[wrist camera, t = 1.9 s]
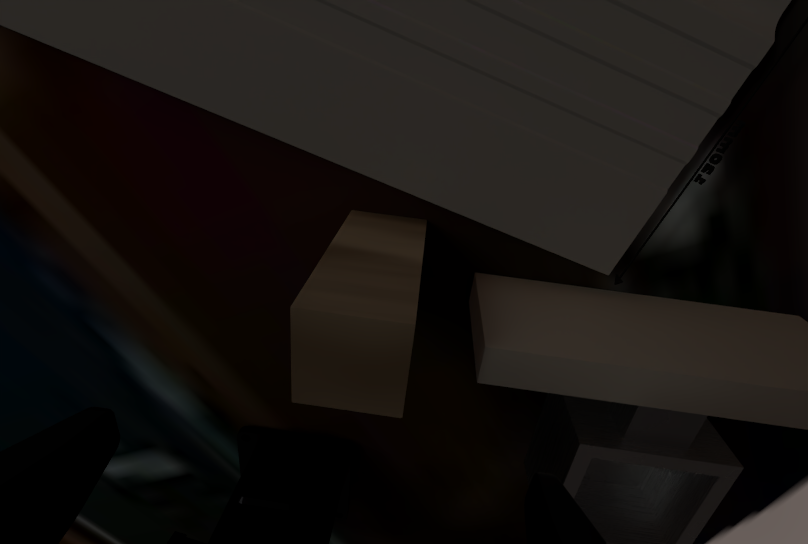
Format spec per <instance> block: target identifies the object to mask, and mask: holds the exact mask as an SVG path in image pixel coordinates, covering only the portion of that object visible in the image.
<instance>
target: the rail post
mask: <svg viewBox="0 0 808 544" xmlns="http://www.w3.org/2000/svg"><path fill="white" fill-rule="evenodd" d="M426 225H427V220H423V219H416V218H408V217H400V216H393V215H385V214H377V213H370V212H362V211H354V210H352V211H351V212H350V214H349V216H348V217H347V219H346V220H345V222H344V223H343V225H342V227H341V228H340V230H339V231H338V233H337V235H336V236H335V238H334V239H333V241H332V242H331V244H330V246H329V247H328V249H327V250H326V252H325V253H324V255H323V257H322V258H321V260H320V261H319V263H318V265H317V266H316V268H315V269H314V271H313V272H312V274H311V276H310V277H309V279H308V280H307V282H306V284H305V285H304V287H303V288H302V290H301V291H300V293H299V295H298V296H297V298H296V299H295V301H294V302H293V304H292V306H291V307H290V311H291V379H292V402H294V403H301V404H308V405H315V406H322V407H329V408H336V409H343V410H350V411H357V412H364V413H370V414H377V415H384V416H391V417H398V418H402V415H403V408H404V401H405V394H406V387H407V380H408V373H409V366H410V359H411V352H412V345H413V338H414V331H415V324H416V315H417V306H418V297H419V288H420V279H421V270H422V261H423V252H424V243H425V234H426Z"/></svg>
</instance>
